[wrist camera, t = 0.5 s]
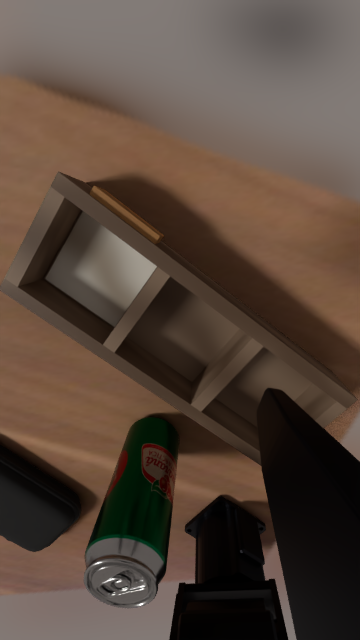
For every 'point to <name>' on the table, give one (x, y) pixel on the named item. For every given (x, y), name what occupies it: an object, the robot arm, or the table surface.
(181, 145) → the table surface
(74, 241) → the can rack
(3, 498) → the carrying case or bag
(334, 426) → the table surface
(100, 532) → the soda can
